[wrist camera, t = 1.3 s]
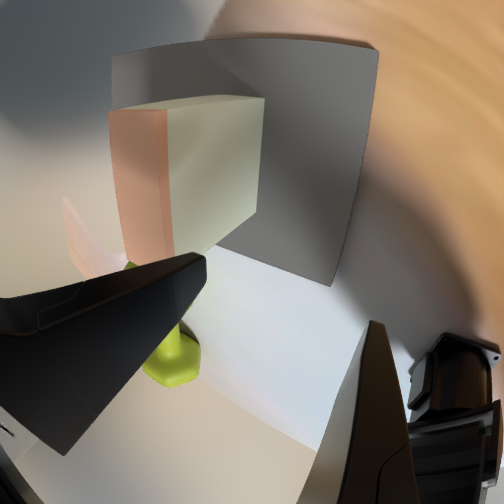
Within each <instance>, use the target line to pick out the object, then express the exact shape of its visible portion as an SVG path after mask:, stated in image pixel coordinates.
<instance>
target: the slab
mask: <svg viewBox="0 0 504 504" xmlns="http://www.w3.org/2000/svg"><path fill="white" fill-rule="evenodd" d="M264 102H265V98H259V97H249V96H237V95H222V94H221V95H209V96H199V97H190V98H182V99H174V100H167V101H161V102H155V103H149V104H143V105H138V106H133V107H128V108H123V109H118V110H114V111H110V112H108V119H109V135H110V147H111V157H112V167H113V175H114V184H115V191H116V198H117V205H118V212H119V218H120V224H121V229H122V235H123V240H124V245H125V250H126V255H127V260H129V261H131V262H133V263H134V264H136V265H138V266H140V265H144V264H148V263H152V262H155V261H159V260H163V259H167V258H170V257H174V256H178V255H182V254H186V253H189V252H196V253H198V254H201V255H203V254H204V253H205V252H206V251H208V250H209V249H210V248H211V247H213V246H214V245H215V244H216V243H218V242H219V241H220V240H221V239H223V238H224V237H225V236H226V235H228V234H229V233H230V232H231V231H233V230H234V229H235V228H236V227H238V226H239V225H240V224H241V223H243V222H244V221H245V220H247V219H248V218H249V217H250V216H252V215H253V214H254V213H256V204H257V191H258V179H259V166H260V153H261V141H262V128H263V115H264Z"/></svg>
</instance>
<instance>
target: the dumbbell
mask: <svg viewBox="0 0 504 504" xmlns="http://www.w3.org/2000/svg"><path fill="white" fill-rule="evenodd" d="M137 266H138V265H136V264H134V263H133V262H131V261H129V262H128V263H127V265H126V266H125V268H124V270H126V269H129V268H133V267H137ZM192 304H193V303H192ZM192 304H191V305H190V307H191V306H192ZM190 307H189V308H188V310H189V309H190ZM200 359H201V353H200V346H199V344H198V343H197V342H196V341H195V340H193V339H192V338H190V337H189V336H187V335H185V334H184V333H182V332H180V331H179V324H177V325H176V326H175V327H174V328H173V330H172V331H171V332H170V333H169V334H168V335H167V337H166V338H165V339H164V340H163V341H162V342H161V343H160V345H159V346H158V347H157V348H156V349H155V350H154V352H153V353H152V354H151V355H150V356H149V357H148V359H147V360H146V361H145V362H144V363H143V364H142V367H143V370H144V372H145V373H146V374H147V375H148V376H150V377H151V378H152V379H153V380H155V381H156V382H158V383H159V384H161V385H163V386H165V387H175V386H178V385H181V384H184V383H187V382H189V381H191V380H193V379H195V378H196V377H197V376H198V373H199V368H200Z"/></svg>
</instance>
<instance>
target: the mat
mask: <svg viewBox="0 0 504 504" xmlns="http://www.w3.org/2000/svg"><path fill="white" fill-rule="evenodd" d="M378 59H379V52H378V50H373V49H368V48H363V47H357V46H351V45H345V44H338V43H330V42H321V41H311V40H298V39H278V38H238V39H218V40H205V41H196V42H186V43H178V44H172V45H165V46H158V47H153V48H148V49H142V50H137V51H133V52H128V53H124V54H120V55H116V56H112V111H114V110H118V109H123V108H128V107H133V106H138V105H143V104H149V103H155V102H161V101H167V100H174V99H182V98H190V97H199V96H209V95H221V94H222V95H237V96H249V97H259V98H265V102H264V115H263V128H262V141H261V153H260V166H259V179H258V191H257V204H256V213H254V214H253V215H252V216H250V217H249V218H248V219H247V220H245V221H244V222H243V223H241V224H240V225H239V226H238V227H236V228H235V229H234V230H233V231H231V232H230V233H229V234H228V235H226V236H225V237H224V238H223V239H221V240H220V241H219V242H218V243H216V244H215V245H217V246H220V247H223V248H225V249H228V250H231V251H233V252H236V253H239V254H241V255H244V256H247V257H250V258H252V259H255V260H258V261H260V262H263V263H266V264H268V265H271V266H274V267H277V268H279V269H282V270H285V271H287V272H290V273H293V274H296V275H298V276H301V277H304V278H306V279H309V280H312V281H315V282H317V283H320V284H323V285H326V286H328V287H331V285H332V283H333V280H334V277H335V273H336V270H337V266H338V263H339V259H340V256H341V252H342V248H343V244H344V241H345V237H346V233H347V229H348V225H349V221H350V217H351V213H352V209H353V205H354V200H355V196H356V191H357V187H358V182H359V178H360V173H361V168H362V163H363V158H364V153H365V147H366V142H367V136H368V131H369V125H370V119H371V112H372V106H373V99H374V92H375V84H376V76H377V68H378Z"/></svg>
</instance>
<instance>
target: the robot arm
mask: <svg viewBox="0 0 504 504" xmlns="http://www.w3.org/2000/svg"><path fill="white" fill-rule="evenodd" d="M206 280H207V269H206V258H205V256H203V255H201V254H198V253H196V252H189V253H186V254H182V255H178V256H174V257H170V258H167V259H163V260H159V261H155V262H152V263H148V264H144V265H140V266H137V267H133V268H129V269H126V270H122V271H118V272H115V273H111V274H107V275H104V276H100V277H97V278H93V279H89V280H86V281H85V282H84V281H82V282H79V283H75V284H72V285H67V286H64V287H60V288H56V289H51V290H47V291H42V292H37V293H32V294H28V295H23V296H17V297H12V298H0V504H44V503H43V502H42V501H41V499H40V498H39V497H38V496H37V494H36V493H35V492H34V491H33V489H32V488H31V487H30V486H29V484H28V483H27V482H26V480H25V479H24V478H23V476H22V475H21V474H20V472H19V471H18V469H17V468H16V467H15V465H14V463H15V462H16V460H18V459H19V458H20V457H21V456H22V455H23V454H24V453H25V452H26V451H27V450H28V449H29V448H30V447H31V446H32V445H33V444H34V443H35V442H36V441H37V440H38V439H40V440H41V441H43V442H44V443H45V444H47V445H48V446H49V447H51V448H52V449H54V450H55V451H57V452H58V453H60V454H61V455H62V456H65V455H66V454H67V453H68V452H69V450H70V449H71V448H72V447H73V446H74V444H75V443H76V442H77V441H78V439H79V438H80V437H81V436H82V435H83V434H84V433H85V431H86V430H87V429H88V428H89V427H90V425H91V424H92V423H93V422H94V421H95V420H96V418H97V417H98V416H99V414H100V413H101V412H102V411H103V410H104V409H105V408H106V406H107V405H108V404H109V403H110V402H111V401H112V399H113V398H114V397H115V396H116V394H117V393H118V392H119V391H120V390H121V389H122V388H123V386H124V385H125V384H126V383H127V382H128V380H129V379H130V378H131V377H132V376H133V375H134V374H135V372H136V371H137V370H138V369H139V368H140V367H141V365H142V364H143V363H144V362H145V361H146V360H147V359H148V357H149V356H150V355H151V354H152V353H153V352H154V350H155V349H156V348H157V347H158V346H159V345H160V343H161V342H162V341H163V340H164V339H165V338H166V337H167V335H168V334H169V333H170V332H171V331H172V330H173V328H174V327H175V326H176V325H177V324H178V322H179V321H180V320H181V318H182V317H183V316H184V314H185V313H186V311H187V310H188V308H189V307H190V305H191V304H192V303H193V301H194V300H195V298H196V297H197V295H198V294H199V292H200V291H201V290H202V288H203V287H204V285H205V283H206ZM444 339H447V340H444ZM500 359H501V352H500V351H498V350H495V349H493V348H490V347H487V346H484V345H481V344H478V343H475V342H473V341H470V340H467V339H464V338H461V337H458V336H456V335H453V334H450V333H444V334H442V335H441V336H440V338H439V339H438V340H437V342H436V343H435V345H434V346H433V348H432V349H431V350H430V351H428V352H427V353H426V354H425V355H424V357H423V358H422V359H421V361H420V362H419V363H418V365H417V366H416V367H415V369H414V371H413V374H412V375H411V378H410V382H411V389H410V394H409V399H408V404H407V407H408V409H410V410H412V412H411V417H410V421H409V423H407V420H406V415H405V409H404V404H403V399H402V394H401V389H400V385H399V380H398V376H397V371H396V367H395V363H394V359H393V355H392V351H391V347H390V343H389V339H388V336H387V332H386V328H385V326H384V324H382V323H379V322H376V321H373V320H370V321H369V322H368V324H367V326H366V328H365V330H364V332H363V334H362V336H361V338H360V341H359V343H358V345H357V348H356V350H355V353H354V355H353V358H352V360H351V363H350V365H349V368H348V370H347V373H346V375H345V377H344V380H343V382H342V385H341V387H340V389H339V392H338V394H337V397H336V400H335V403H334V406H333V409H332V412H331V416H330V419H329V422H328V425H327V428H326V430H325V433H324V436H323V439H322V442H321V445H320V447H319V450H318V453H317V455H316V458H315V460H314V463H313V466H312V468H311V471H310V473H309V476H308V478H307V480H306V483H305V485H304V488H303V490H302V492H301V495H300V496H299V499H298V501H297V503H296V504H485V500H486V495H487V489H488V488H489V487H493V486H496V483H497V479H498V474H499V469H500V464H501V458H502V451H503V418H502V408H501V400H500V399H499V400H496V401H494V402H493V403H492V376H491V369H492V368H493V367H494V366H495V365H496V364H497V363H498V362H499V360H500Z"/></svg>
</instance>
